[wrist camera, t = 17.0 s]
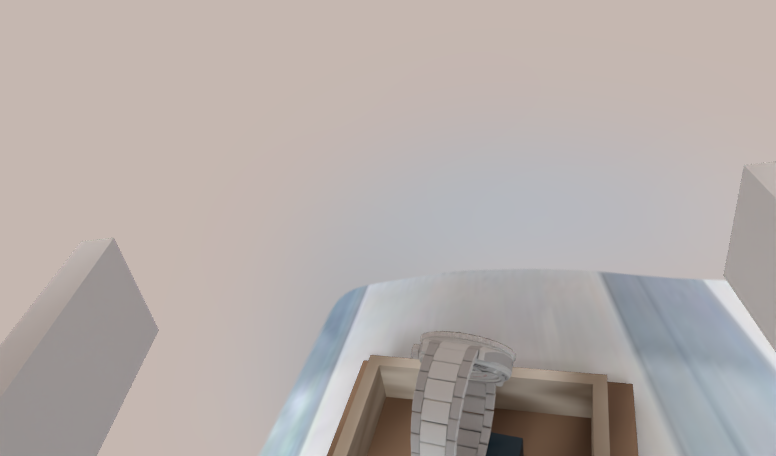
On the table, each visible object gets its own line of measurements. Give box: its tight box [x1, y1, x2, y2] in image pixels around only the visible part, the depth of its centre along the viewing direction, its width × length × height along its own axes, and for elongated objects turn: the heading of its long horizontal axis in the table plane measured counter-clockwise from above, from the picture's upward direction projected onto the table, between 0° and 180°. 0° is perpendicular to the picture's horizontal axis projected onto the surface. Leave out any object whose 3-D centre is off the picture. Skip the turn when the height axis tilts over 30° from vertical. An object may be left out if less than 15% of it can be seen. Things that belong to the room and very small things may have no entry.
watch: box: [411, 331, 524, 456], centre depth 31 cm, size 6×8×11 cm
